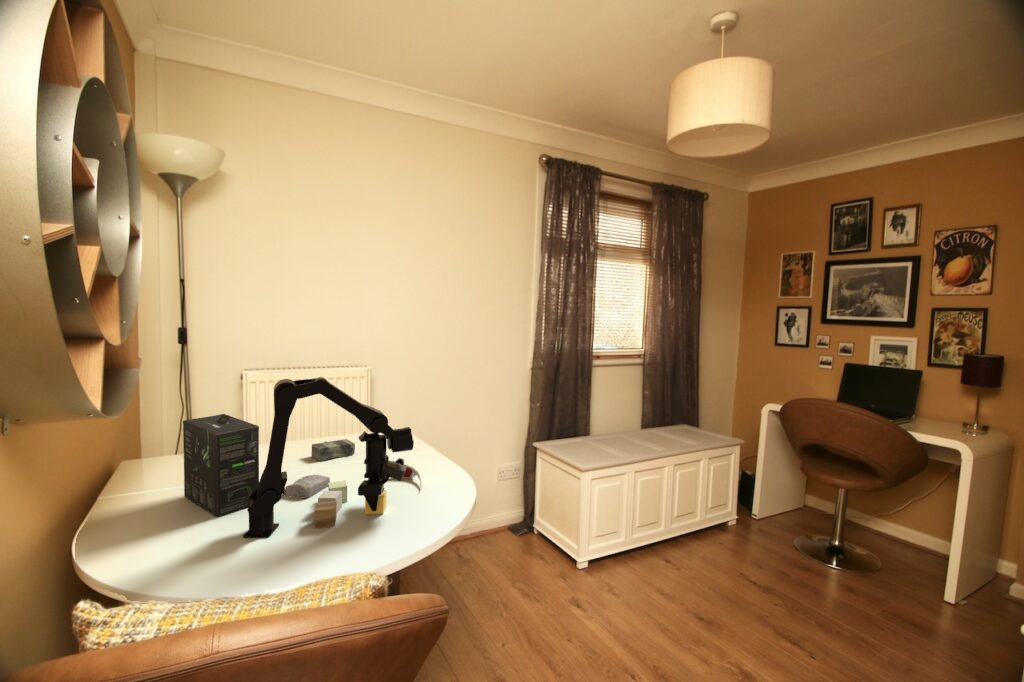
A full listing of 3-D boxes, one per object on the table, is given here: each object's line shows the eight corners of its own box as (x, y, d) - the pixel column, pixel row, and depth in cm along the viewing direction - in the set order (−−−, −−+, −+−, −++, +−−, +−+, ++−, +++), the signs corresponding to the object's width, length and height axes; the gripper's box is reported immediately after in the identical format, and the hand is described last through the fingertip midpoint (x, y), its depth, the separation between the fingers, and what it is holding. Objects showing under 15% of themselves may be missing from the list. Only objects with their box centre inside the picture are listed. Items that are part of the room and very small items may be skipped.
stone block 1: (282, 502, 140) (310, 499, 138) (279, 487, 140) (308, 483, 138) (306, 489, 152) (333, 485, 150) (304, 474, 152) (330, 471, 150)
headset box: (261, 503, 134) (259, 418, 132) (216, 518, 124) (214, 426, 122) (225, 485, 147) (224, 407, 145) (182, 498, 137) (180, 414, 135)
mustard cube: (383, 514, 129) (383, 497, 129) (365, 514, 129) (365, 497, 128) (386, 506, 134) (386, 490, 134) (369, 506, 134) (369, 490, 133)
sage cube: (347, 502, 137) (347, 486, 136) (329, 504, 135) (329, 488, 134) (345, 495, 141) (345, 480, 141) (328, 498, 139) (328, 482, 139)
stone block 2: (356, 455, 181) (356, 442, 180) (320, 463, 171) (320, 449, 170) (346, 450, 187) (346, 437, 187) (311, 457, 177) (311, 444, 177)
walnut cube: (334, 526, 122) (334, 508, 121) (314, 528, 120) (314, 510, 120) (336, 518, 126) (336, 500, 126) (317, 520, 125) (317, 502, 125)
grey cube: (335, 515, 128) (335, 498, 128) (318, 515, 128) (317, 497, 128) (342, 507, 133) (342, 491, 133) (325, 507, 133) (324, 490, 133)
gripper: (399, 465, 122) (399, 521, 123) (408, 444, 140) (408, 493, 141) (357, 465, 121) (357, 522, 122) (371, 444, 139) (371, 493, 140)
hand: (376, 506), depth 131 cm, fingers closed on mustard cube, 5 cm apart
